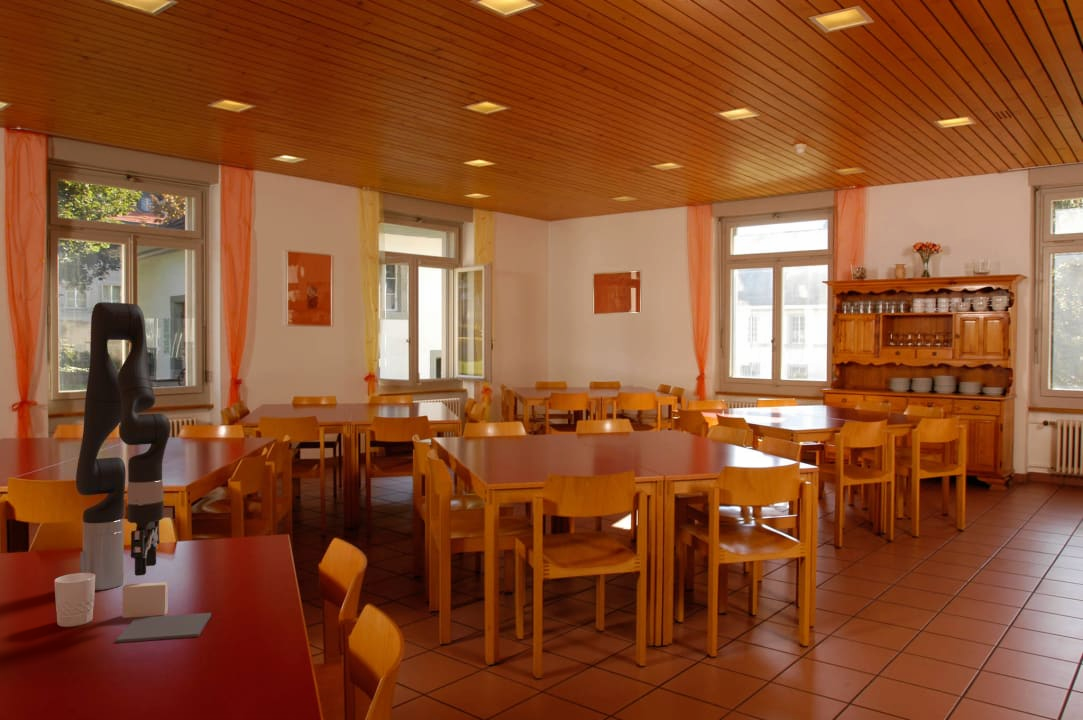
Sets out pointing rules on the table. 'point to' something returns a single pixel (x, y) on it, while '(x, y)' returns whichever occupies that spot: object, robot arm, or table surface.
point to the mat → (164, 627)
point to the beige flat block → (145, 599)
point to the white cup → (74, 599)
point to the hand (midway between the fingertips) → (145, 570)
